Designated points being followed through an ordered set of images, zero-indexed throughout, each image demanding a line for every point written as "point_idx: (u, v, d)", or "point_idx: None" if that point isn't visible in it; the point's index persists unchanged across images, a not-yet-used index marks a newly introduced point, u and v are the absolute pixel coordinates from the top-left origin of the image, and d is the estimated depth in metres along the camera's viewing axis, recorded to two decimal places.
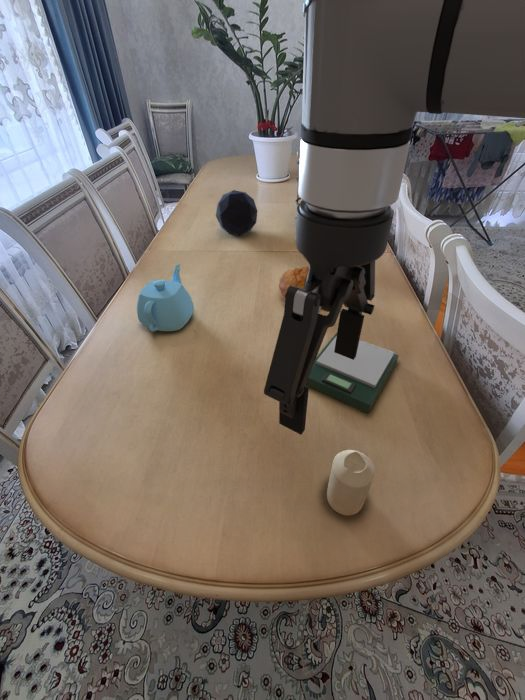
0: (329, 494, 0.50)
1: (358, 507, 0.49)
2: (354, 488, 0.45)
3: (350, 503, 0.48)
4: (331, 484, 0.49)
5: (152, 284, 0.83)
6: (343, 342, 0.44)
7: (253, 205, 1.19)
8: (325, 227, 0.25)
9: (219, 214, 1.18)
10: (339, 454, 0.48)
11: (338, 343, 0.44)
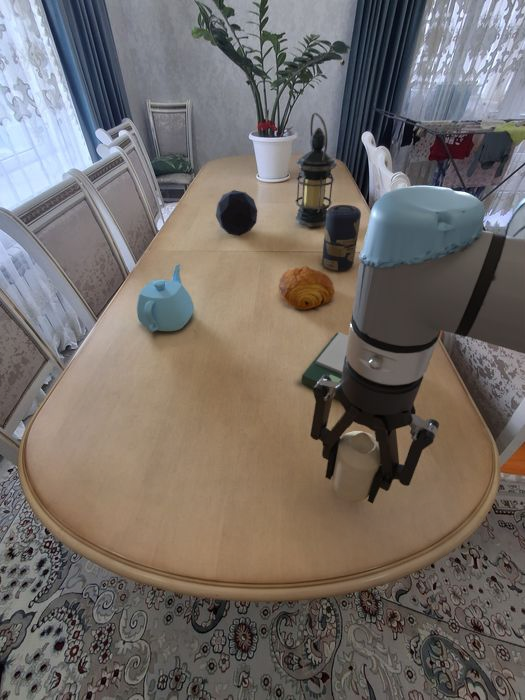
0: (335, 479, 0.47)
1: (366, 492, 0.46)
2: (362, 470, 0.42)
3: (358, 488, 0.45)
4: (337, 468, 0.46)
5: (152, 284, 0.83)
6: (334, 466, 0.49)
7: (253, 205, 1.19)
8: None
9: (219, 214, 1.18)
10: (345, 435, 0.45)
11: (332, 471, 0.49)
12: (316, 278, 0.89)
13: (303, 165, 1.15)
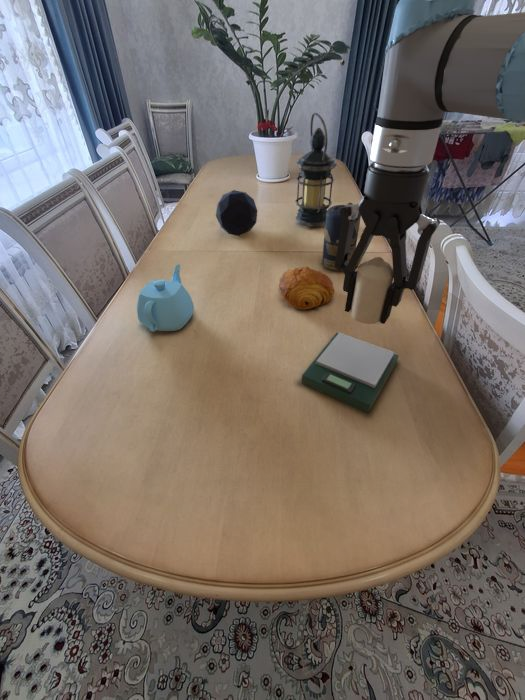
0: (354, 305, 0.58)
1: (379, 312, 0.57)
2: (378, 280, 0.52)
3: (373, 304, 0.55)
4: (356, 290, 0.56)
5: (152, 284, 0.83)
6: (352, 299, 0.59)
7: (253, 205, 1.19)
8: None
9: (219, 214, 1.18)
10: None
11: (351, 303, 0.59)
12: (316, 278, 0.89)
13: (303, 165, 1.15)
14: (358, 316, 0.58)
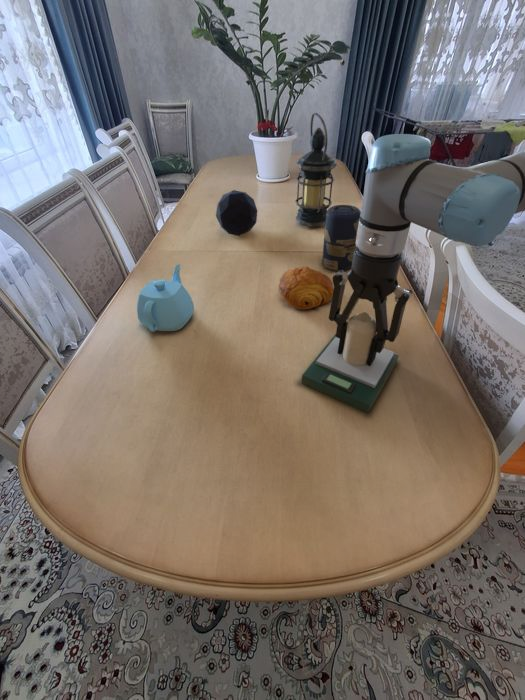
0: (345, 350, 0.69)
1: (366, 357, 0.68)
2: (364, 333, 0.64)
3: (360, 351, 0.67)
4: (346, 339, 0.67)
5: (152, 284, 0.83)
6: None
7: (253, 205, 1.19)
8: (401, 258, 0.55)
9: (219, 214, 1.18)
10: (352, 316, 0.67)
11: (342, 347, 0.70)
12: (316, 278, 0.89)
13: (303, 165, 1.15)
14: (348, 359, 0.69)
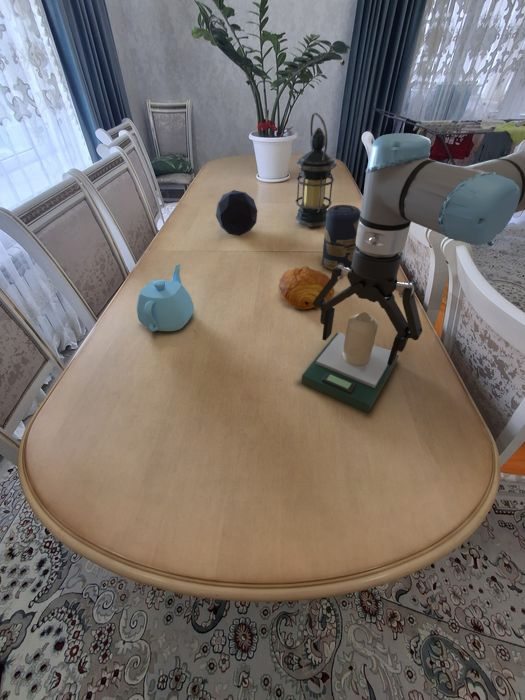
0: (345, 350, 0.69)
1: (366, 357, 0.68)
2: (364, 333, 0.64)
3: (360, 351, 0.67)
4: (346, 339, 0.67)
5: (152, 284, 0.83)
6: (328, 329, 0.71)
7: (253, 205, 1.19)
8: (401, 257, 0.55)
9: (219, 214, 1.18)
10: (352, 316, 0.67)
11: (327, 333, 0.71)
12: (316, 278, 0.89)
13: (303, 165, 1.15)
14: (348, 359, 0.69)
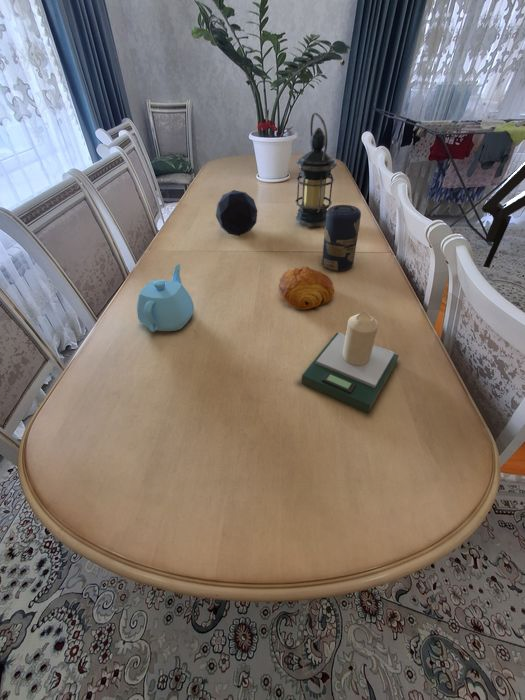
0: (345, 350, 0.69)
1: (366, 357, 0.68)
2: (364, 333, 0.64)
3: (360, 351, 0.67)
4: (346, 339, 0.67)
5: (152, 284, 0.83)
6: None
7: (253, 205, 1.19)
8: None
9: (219, 214, 1.18)
10: (352, 316, 0.67)
11: (494, 255, 0.49)
12: (316, 278, 0.89)
13: (303, 165, 1.15)
14: (348, 359, 0.69)
